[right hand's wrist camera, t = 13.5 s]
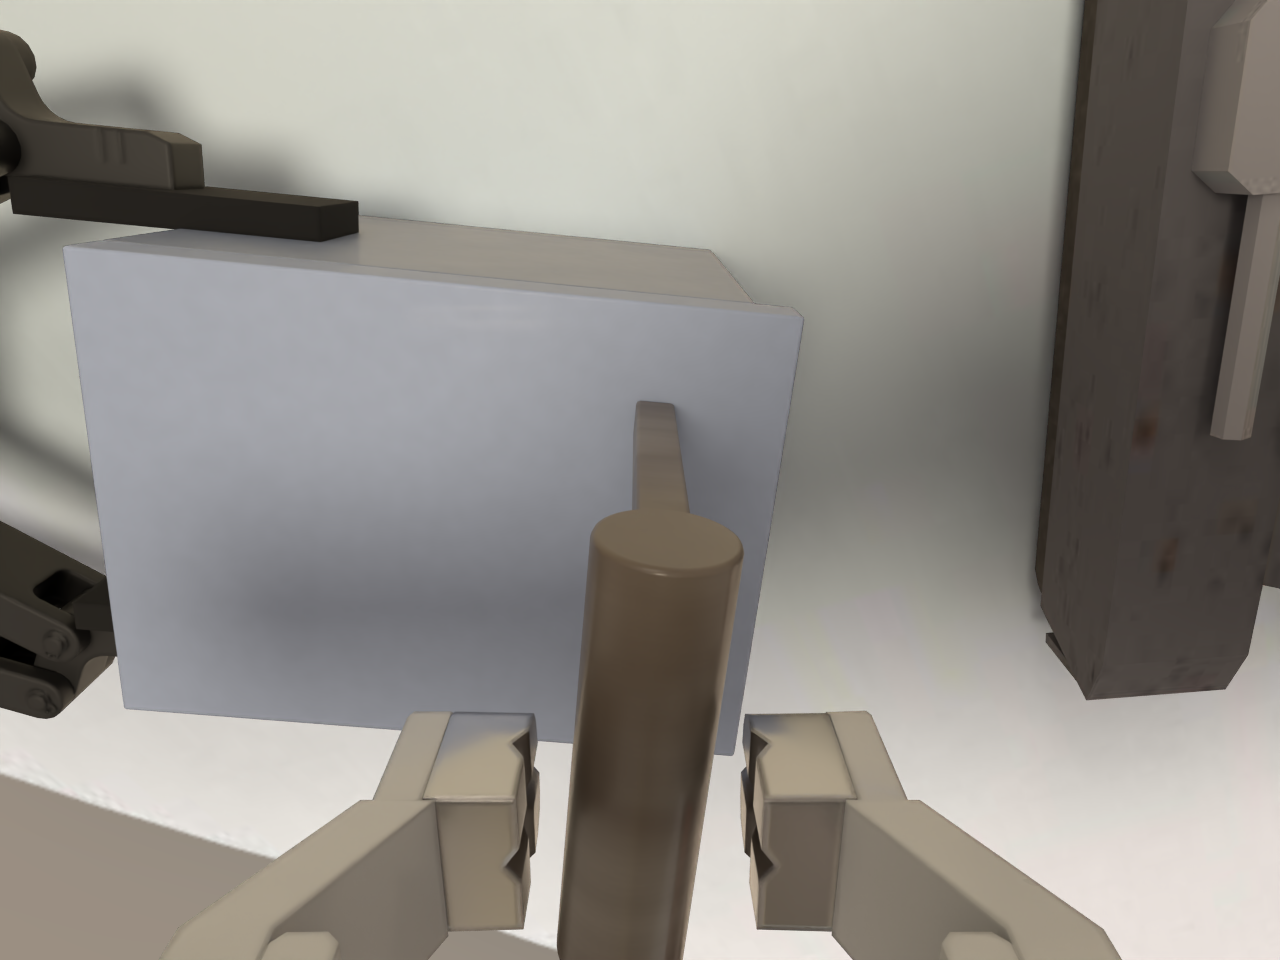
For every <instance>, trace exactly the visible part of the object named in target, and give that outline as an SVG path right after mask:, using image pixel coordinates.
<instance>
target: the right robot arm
mask: <svg viewBox="0 0 1280 960" xmlns="http://www.w3.org/2000/svg"><path fill="white" fill-rule="evenodd" d="M537 743H538V741H537V727H536V718H535V715H534V713H504V712H457V711H455V712H454V713H453V712H451V711H414V712H413V713H412V714H411V715H409V716H408V717H407V719H406V722H405V724H404V726H403V729H402V731H401V733H400V736H399V738H398V741H397V743H396V745H395V748H394V750H393V752H392V755H391V757H390V759H389V762H388V764H387V767H386V769H385V771H384V774H383V776H382V778H381V781H380V783H379V785H378V788H377V790H376V793H375V795H374V797H373V800H360V801H358V802H357V803H355V804H354V805H353V806H351V807H350V808H348V809H347V810H345V811H344V812H343V813H341V814H340V815H338V816H337V817H336V818H334V819H333V820H331V821H330V822H328V823H327V824H326V825H324V826H323V827H321V828H320V829H318V830H317V831H316V832H314V833H313V834H311V835H310V836H308V837H307V838H306V839H304V840H303V841H301V842H300V843H298V844H297V845H296V846H294V847H293V848H291V849H290V850H288V851H287V852H286V853H284V854H283V855H281V856H280V857H278V858H277V859H276V860H274V861H273V862H271V863H270V864H268V865H267V866H266V867H264V868H263V869H261V870H260V871H258V872H257V873H256V874H254V875H253V876H251V877H250V878H249V879H247V880H246V881H244V882H243V883H241V884H240V885H239V886H237V887H236V888H234V889H233V890H231V891H230V892H228V893H227V894H226V895H224V896H223V897H221V898H220V899H219V900H217V901H216V902H214V903H213V904H211V905H210V906H209V907H207V908H206V909H204V910H203V911H201V912H200V913H199V914H197V915H196V916H194V917H193V918H191V919H190V920H188V921H187V922H186V923H184V924H183V925H181V926H180V927H178V929H177V930H176V932H175V934H174V935H173V937H172V938H171V940H170V942H169V943H168V945H167V947H166V948H165V950H164V952H163V953H162V955H161V957H160V958H159V960H428V959H429V958H430V957H431V955H432V954H433V953H434V952H435V951H436V950H437V948H438V947H439V946H440V945H441V944H442V943H443V941H444V940H445V939H446V938H447V937H448V931H482V930H516V929H524V922H525V916H526V910H527V903H528V897H529V891H530V884H531V875H530V857H531V856H532V855H533V854H534V853H535V851H536V844H537V837H538V826H539V812H540V782H539V772H538V771H537V769H536V768H535V767H534V761H535V755H536V749H537ZM743 748H744V754H745V761H746V767H745V768H744V770H743V771H742V772H741V790H740V804H741V826H742V836H743V843H744V851H745V853H746V854H747V855H748V856H749V857H750V877H749V884H750V890H751V896H752V902H753V909H754V915H755V921H756V927H757V929H762V930H797V931H832V936H833V937H834V938H835V940H836V941H837V942H838V943H839V944H840V945H841V947H842V948H843V949H844V950H845V951H846V952H847V954H848V955H849V956H850V957H851V958H852V959H853V960H1122V959H1121V957H1120V956H1119V954H1118V952H1117V951H1116V949H1115V947H1114V946H1113V944H1112V942H1111V941H1110V939H1109V938H1108V936H1107V934H1106V933H1105V931H1104V929H1102V928H1101V927H1100V926H1098V925H1097V924H1095V923H1094V922H1092V921H1091V920H1090V919H1088V918H1087V917H1085V916H1084V915H1082V914H1081V913H1080V912H1078V911H1077V910H1075V909H1074V908H1073V907H1071V906H1070V905H1068V904H1067V903H1065V902H1064V901H1063V900H1061V899H1060V898H1058V897H1057V896H1055V895H1054V894H1053V893H1051V892H1050V891H1048V890H1047V889H1046V888H1044V887H1043V886H1041V885H1040V884H1038V883H1037V882H1036V881H1034V880H1033V879H1031V878H1030V877H1028V876H1027V875H1026V874H1024V873H1023V872H1021V871H1020V870H1019V869H1017V868H1016V867H1014V866H1013V865H1011V864H1010V863H1009V862H1007V861H1006V860H1004V859H1003V858H1001V857H1000V856H999V855H997V854H996V853H994V852H993V851H991V850H990V849H989V848H987V847H986V846H984V845H983V844H982V843H980V842H979V841H977V840H976V839H974V838H973V837H972V836H970V835H969V834H967V833H966V832H964V831H963V830H962V829H960V828H959V827H957V826H956V825H955V824H953V823H952V822H950V821H949V820H947V819H946V818H945V817H943V816H942V815H940V814H939V813H937V812H936V811H935V810H933V809H932V808H930V807H929V806H928V805H926V804H925V803H923V802H922V801H920V800H908V799H907V797H906V795H905V792H904V790H903V788H902V785H901V783H900V781H899V778H898V776H897V774H896V771H895V769H894V767H893V764H892V762H891V760H890V757H889V755H888V753H887V750H886V748H885V746H884V743H883V741H882V739H881V736H880V734H879V732H878V729H877V727H876V725H875V722H874V720H873V718H872V715H871V714H869V713H868V712H867V711H844V712H826V713H796V714H745V719H744V726H743Z"/></svg>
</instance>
